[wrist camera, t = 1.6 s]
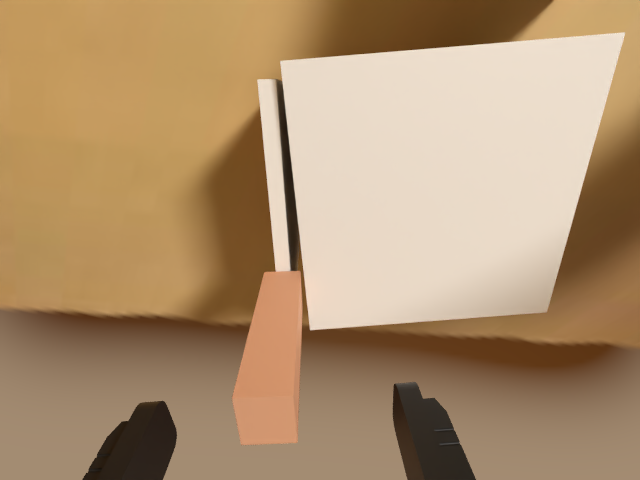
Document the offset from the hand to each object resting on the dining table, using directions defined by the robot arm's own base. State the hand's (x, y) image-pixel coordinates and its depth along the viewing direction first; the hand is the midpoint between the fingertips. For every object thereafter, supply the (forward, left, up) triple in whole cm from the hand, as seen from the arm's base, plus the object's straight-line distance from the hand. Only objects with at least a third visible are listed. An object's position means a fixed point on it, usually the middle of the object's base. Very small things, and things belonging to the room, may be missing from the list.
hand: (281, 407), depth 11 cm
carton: (-8, -4, -18) cm, 20 cm away
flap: (0, -4, -18) cm, 18 cm away
